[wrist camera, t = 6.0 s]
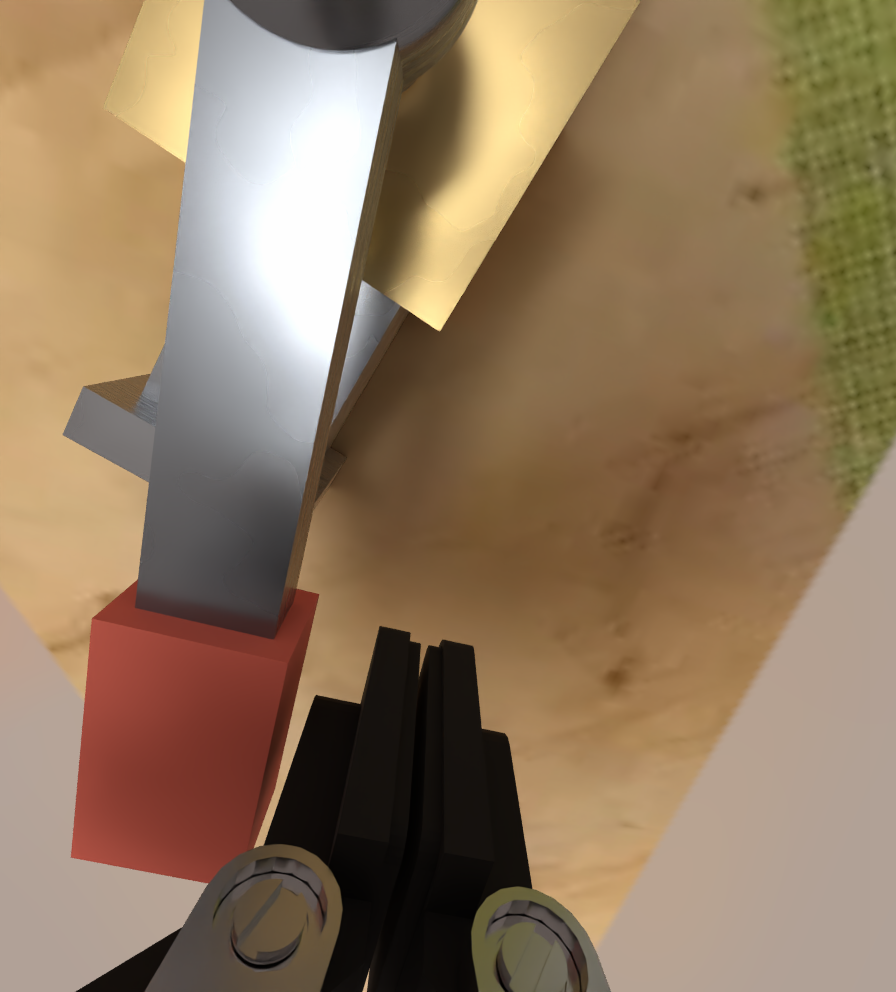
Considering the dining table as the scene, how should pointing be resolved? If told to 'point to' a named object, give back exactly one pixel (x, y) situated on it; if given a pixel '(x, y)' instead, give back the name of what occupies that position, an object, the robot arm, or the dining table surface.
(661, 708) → the dining table surface
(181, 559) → the valve lever
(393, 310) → the valve pipe
